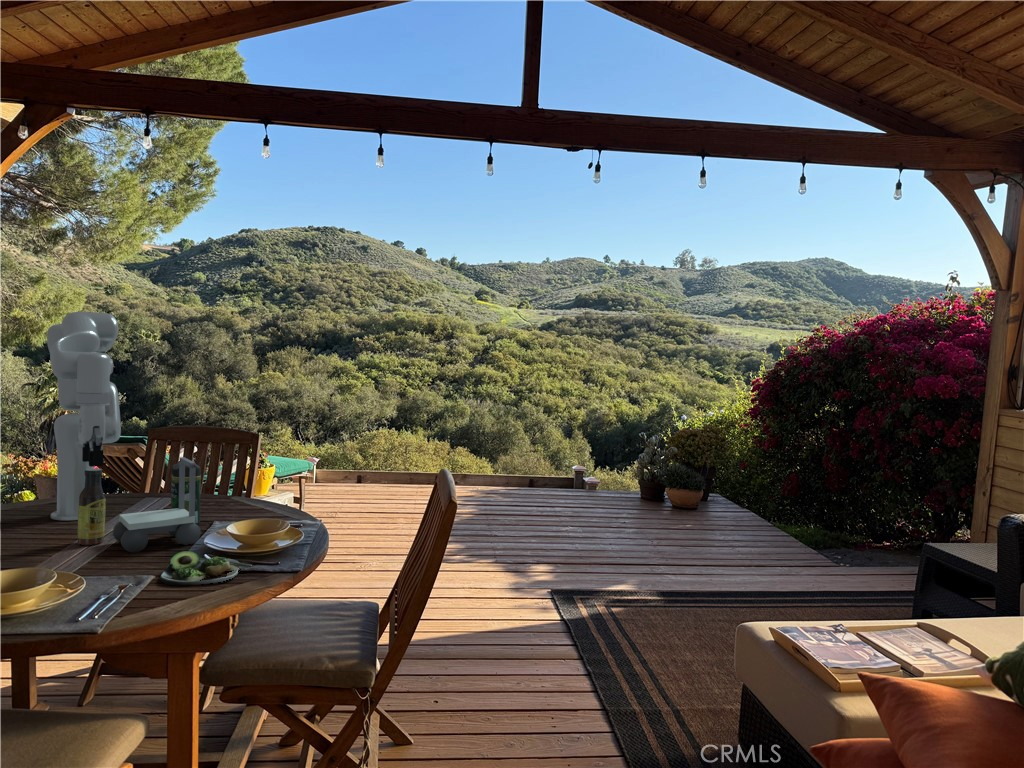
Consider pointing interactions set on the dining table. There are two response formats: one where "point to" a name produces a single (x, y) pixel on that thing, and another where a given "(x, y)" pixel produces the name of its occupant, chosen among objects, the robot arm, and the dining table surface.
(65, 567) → the dining table surface
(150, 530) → the trolley
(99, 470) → the sauce bottle
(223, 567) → the salad plate
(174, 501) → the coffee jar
